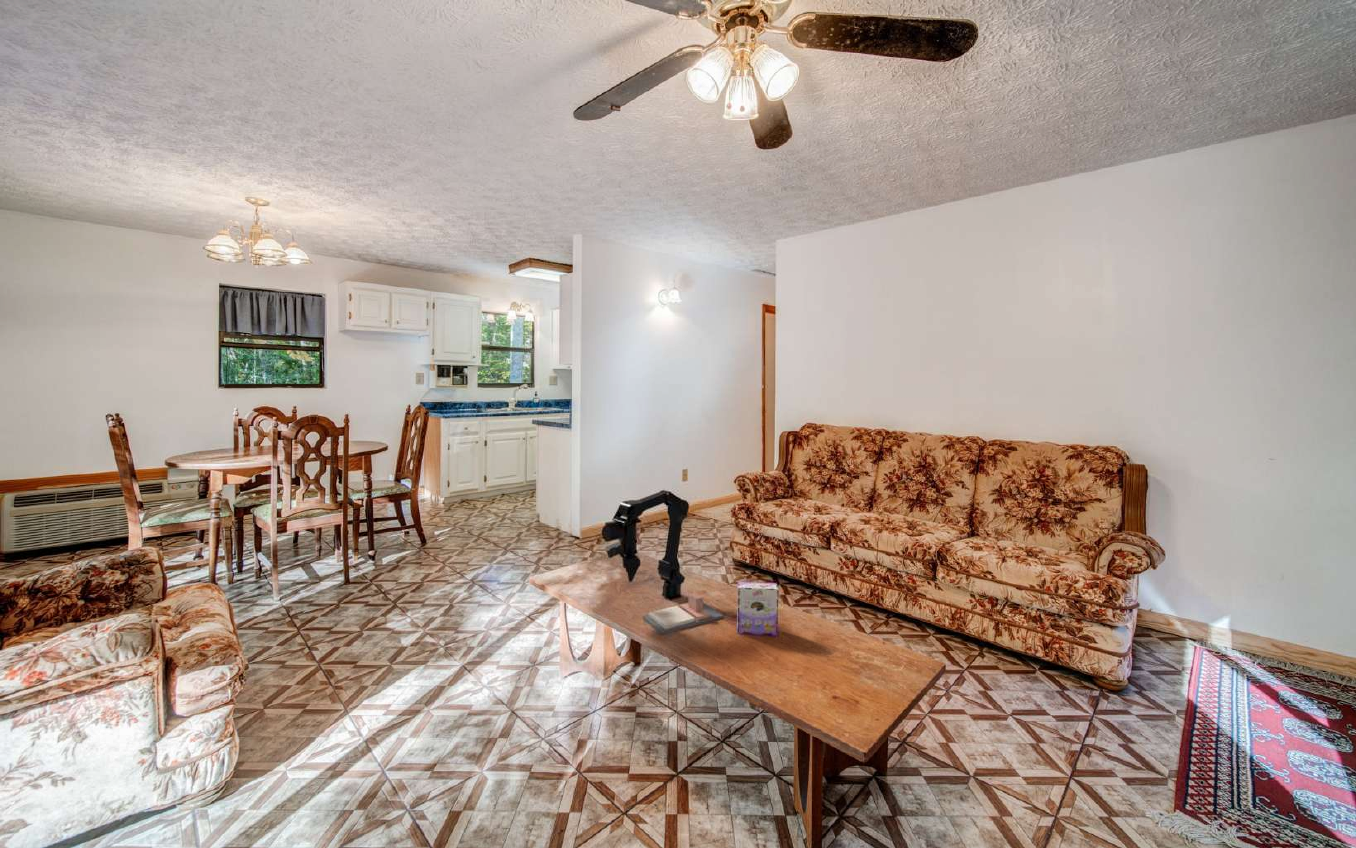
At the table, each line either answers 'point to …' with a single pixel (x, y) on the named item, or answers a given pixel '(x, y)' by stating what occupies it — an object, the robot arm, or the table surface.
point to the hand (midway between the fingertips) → (629, 577)
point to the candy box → (757, 608)
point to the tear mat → (660, 629)
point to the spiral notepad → (671, 617)
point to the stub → (695, 607)
